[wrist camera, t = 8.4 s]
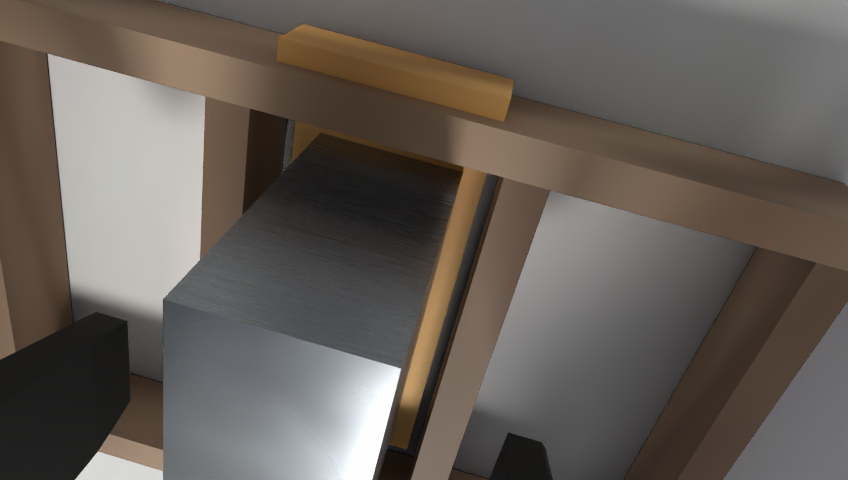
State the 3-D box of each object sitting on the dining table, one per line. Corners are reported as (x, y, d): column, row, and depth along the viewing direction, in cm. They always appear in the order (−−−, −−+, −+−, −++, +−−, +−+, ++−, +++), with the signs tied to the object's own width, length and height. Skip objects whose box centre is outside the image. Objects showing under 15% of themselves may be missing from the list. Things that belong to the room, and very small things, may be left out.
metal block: (462, 172, 13) (401, 368, 8) (390, 440, 17) (317, 686, 12) (320, 132, 13) (163, 299, 8) (282, 408, 17) (163, 637, 12)
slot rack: (855, 163, 11) (908, 213, 10) (622, 540, 17) (629, 612, 16) (-4, -64, 12) (-94, -55, 11) (52, 370, 18) (-1, 421, 16)
